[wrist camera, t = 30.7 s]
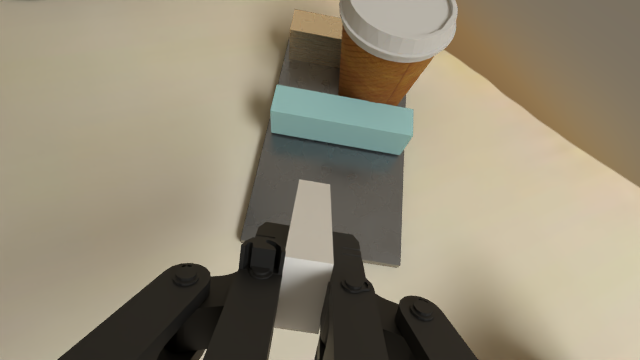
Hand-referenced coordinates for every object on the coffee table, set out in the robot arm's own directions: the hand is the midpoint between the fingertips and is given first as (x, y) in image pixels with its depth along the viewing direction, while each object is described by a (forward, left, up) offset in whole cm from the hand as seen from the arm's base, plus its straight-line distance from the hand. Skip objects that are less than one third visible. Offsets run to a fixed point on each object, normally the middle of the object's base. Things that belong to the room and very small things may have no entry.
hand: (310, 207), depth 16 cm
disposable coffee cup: (-14, +13, -14) cm, 23 cm away
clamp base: (-11, +8, -14) cm, 20 cm away
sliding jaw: (-11, +8, -13) cm, 19 cm away
